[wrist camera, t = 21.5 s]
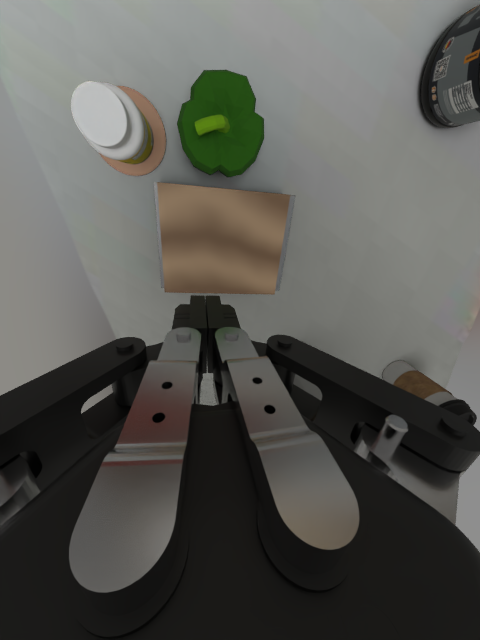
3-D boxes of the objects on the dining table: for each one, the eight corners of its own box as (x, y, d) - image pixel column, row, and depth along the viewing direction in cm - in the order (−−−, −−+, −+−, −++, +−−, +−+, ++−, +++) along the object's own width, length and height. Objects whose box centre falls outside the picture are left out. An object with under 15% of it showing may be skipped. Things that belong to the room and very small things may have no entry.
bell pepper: (255, 100, 28) (283, 60, 19) (247, 182, 31) (266, 179, 23) (180, 85, 26) (173, 34, 17) (181, 173, 30) (175, 167, 21)
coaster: (167, 179, 30) (167, 178, 30) (97, 172, 28) (96, 171, 28) (163, 93, 26) (163, 92, 26) (82, 81, 25) (80, 79, 24)
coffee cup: (391, 352, 51) (458, 409, 38) (420, 359, 53) (492, 414, 40) (369, 382, 54) (424, 443, 41) (397, 387, 57) (457, 446, 44)
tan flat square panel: (272, 291, 33) (274, 294, 33) (165, 289, 31) (164, 292, 30) (287, 194, 28) (290, 194, 27) (158, 182, 25) (157, 182, 24)
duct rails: (269, 278, 38) (279, 290, 34) (165, 275, 36) (161, 288, 31) (282, 194, 33) (295, 195, 28) (159, 182, 30) (153, 181, 26)
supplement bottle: (93, 138, 27) (45, 115, 18) (119, 91, 25) (80, 42, 17) (138, 176, 29) (114, 171, 20) (164, 135, 27) (150, 112, 19)
